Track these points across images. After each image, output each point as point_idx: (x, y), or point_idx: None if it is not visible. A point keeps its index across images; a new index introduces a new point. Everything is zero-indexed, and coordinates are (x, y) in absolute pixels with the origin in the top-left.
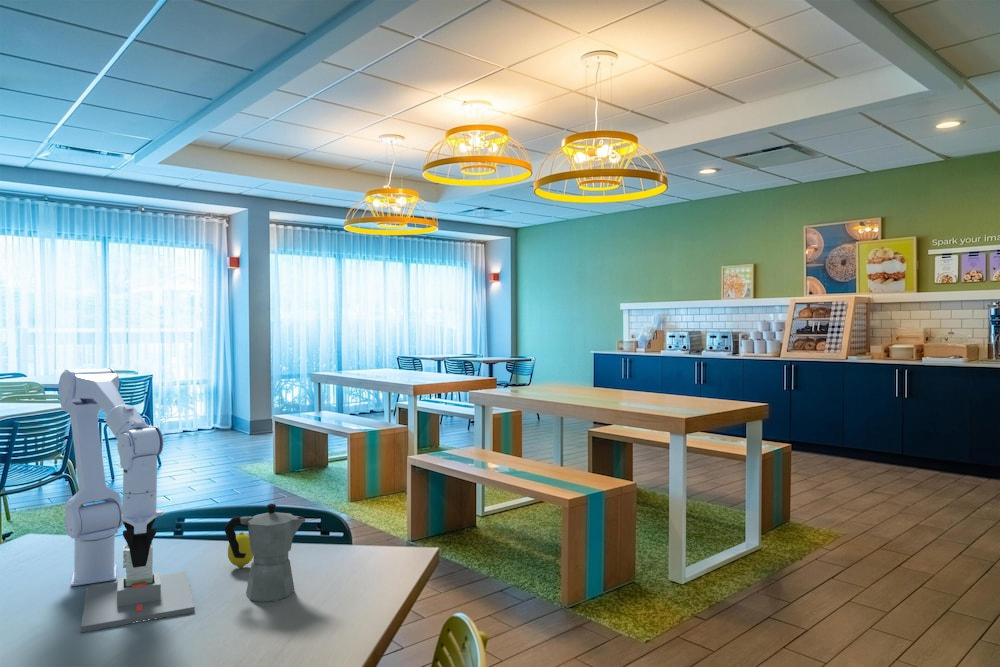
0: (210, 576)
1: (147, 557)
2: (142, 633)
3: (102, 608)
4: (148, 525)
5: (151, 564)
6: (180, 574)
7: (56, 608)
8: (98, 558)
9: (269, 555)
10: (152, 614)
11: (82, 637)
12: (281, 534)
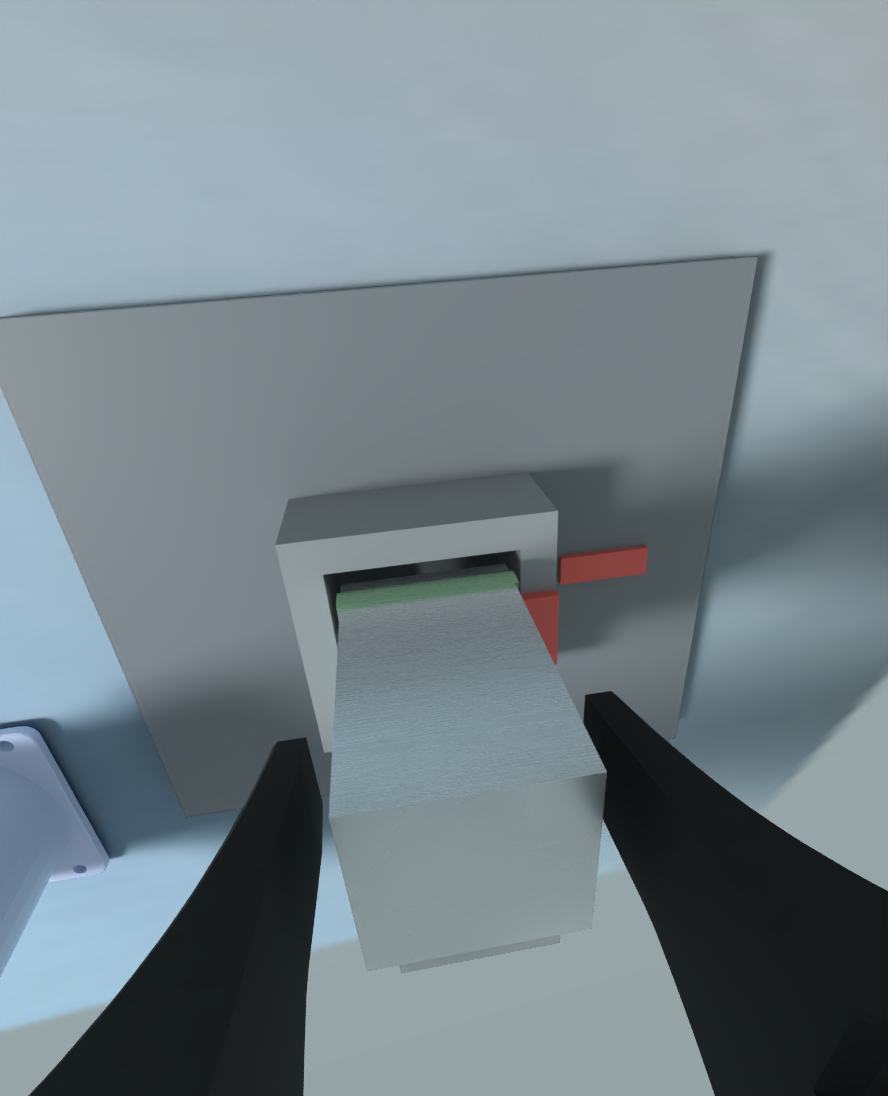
0: (7, 87)
1: (660, 735)
2: (826, 510)
3: None
4: (231, 1092)
5: (546, 652)
6: (39, 368)
7: None
8: None
9: None
10: (714, 494)
11: (711, 706)
12: None
